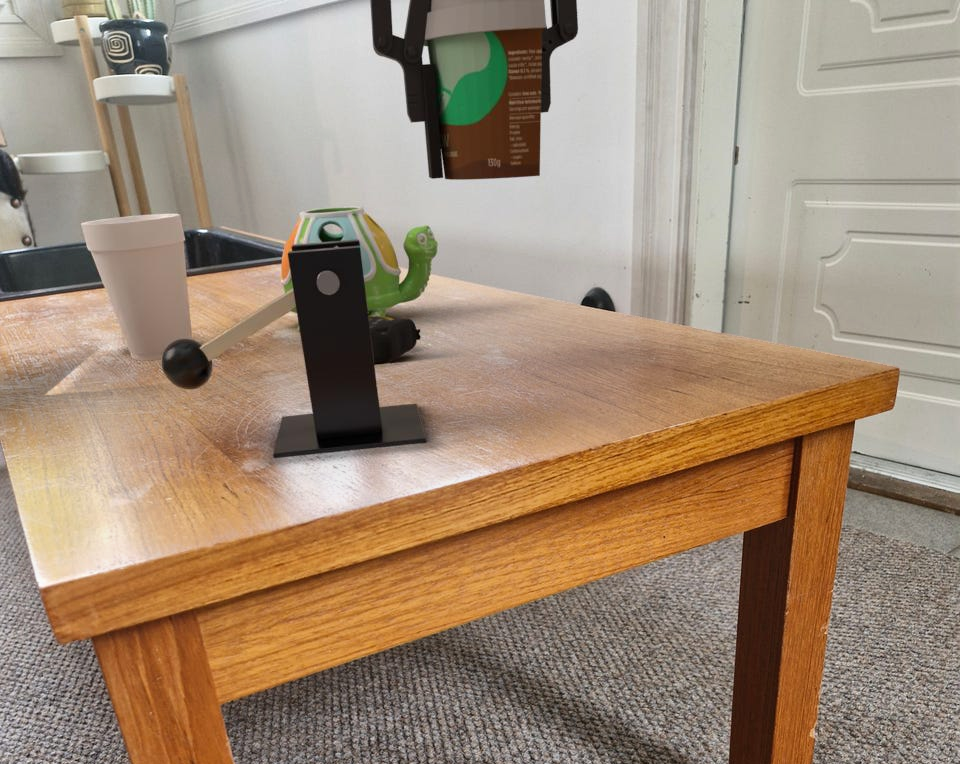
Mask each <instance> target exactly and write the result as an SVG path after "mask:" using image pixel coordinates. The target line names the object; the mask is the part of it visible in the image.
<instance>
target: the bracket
mask: <svg viewBox="0 0 960 764" xmlns="http://www.w3.org/2000/svg"><path fill="white" fill-rule="evenodd" d="M336 246H338V247H337V248H334V247H336ZM291 248H292V251H289V252H288V260H289V266H290V272H291V279H292V285H293V291H294V298H295V304H296V310H297V313H296V316H297V323H298V326H299V329H300V332H299V335H300V342H301V347H302V354H303V355H302V356H303V360H304V367H305V373H306V380H307V385H308V386H307V387H308V392H309V398H310V405H311V411H312V413H305V414H304V413H303V414H294V415H284V416H281V419H280V424H279V427H278V432H277V437H276V441H275V445H274V449H273V452H272V458H273V459H280V458H288V457H289V458H290V457H299V456H308V455H309V456H311V455H318V454H328V453H338V452H348V451H349V452H350V451H360V450H368V449H379V448H388V447H389V448H390V447H397V446H407V445H418V444H426V443H427V436H426V433H425V429H424V425H423V423H422V422H423V421H422V418H421V413H420V409H419V406H418V404H417V403H408V404H395V405H387V406H380V399H379V391H378V383H377V373H376V366H375V363H374V357H373V349H372V341H371V332H370V324H369V316H368V314H369V312H368V307H367V299H366V291H365V282H364V274H363V266H362V257H361V249H360V241H359V240H358V239H357V240H344V241H332V242H320V243H308V244H296V245H292V247H291Z"/></svg>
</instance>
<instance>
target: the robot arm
mask: <svg viewBox="0 0 960 764" xmlns="http://www.w3.org/2000/svg"><path fill="white" fill-rule="evenodd" d="M549 2H550V4H549V5H550V6H549V8H550V21H551V26H549V27H548V26H547V25H546V28H542V71H541V114H543V113H549V111H550V107H551V103H552V96H551V91H552V90H551V57H552V54H553V52H554V51H555V50H556V49H558V48H559V47H561V46H563V45H565V44H568V43H569V42H571V41H573V40H575V38H576V37H577V35H578V33H579V22H578V21H579V20H578V19H579V18H578V5H577V4H578V1H577V0H549ZM369 3H370V20H371V35H372V48H373V51H374V53H375V54H376V55H377V56H379V57H383V58H386V59H389V60H392V61H394V62H396V63H398V64H399V66H400V67H401V70H402V73H403V82H404V93H405V95H404V96H405V105H406V114H407V117H408V120H409V122H410V123H424V135H425V144H426V145H425V146H426V157H427V169H428V177H429V179H435V180H436V179H443V178H444V167H443V159H442V152H441V142H440V129H439V116H438V103H437V90H436V77H435V64H430V63H425V64H424V63H423V53H424V47H425V46H424V41H425V32H426V23H427V14H428V12H429V11H430V5H431V0H409V3H408V10H407V16H406V23H405V29H404V34H403V35H404V36H403V37H400V36H398V35H396V34H395V35H394V33H393V16H392V12H393V11H392V0H369Z"/></svg>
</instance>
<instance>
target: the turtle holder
mask: <svg viewBox="0 0 960 764" xmlns="http://www.w3.org/2000/svg"><path fill="white" fill-rule="evenodd" d="M327 225H328V226H329V225H333V226H337V227H338V228H339V229H340V230H341V231H342V232H339V233H330V232H328V230H326V229H325V227H326V226H327ZM357 239H358V240H359V241H360V249H361V257H362V266H363V274H364V282H365V291H366V299H367V307H368V316H369V317H372V316H383V317H386V310H387V309H389V308H392V307H395V306H398V305H400V304H402V303H407V302H408V303H409V302H412V301H415V300H416V299H418V298H419V297H420V296H421V295H422V293H424V292H425V290H426V288H427V286H428V284H429V283H428V282H429V281H430V276H431V273H432V272H431V271H432V262H433V261H432V260H434V258H435V257H436V256H437V253H438V241H437V240H436V239H435V236H434V232H433V230H432V229H431V227H430V226H429V225H422V226H416V227H413V228H411V229H410V230H409V231H408V232H407V233H406V236H405V239H404V242H403V250H404V252H405V254H406V256H407V259H408V269H407V273H406V276H405V277H404V279H403V280H402V281H401V282H400V276H401V274H402V270H401V268H400V266H399V261H398V258H397V255H396V254H397V253H396V251H395V248H394V247H393V244H392V242H391V240H390V238H389V237H388V234H387V233H386V231H385V230H384V229H383V228H382V227H381V226H380V225H379V224H378V222H376V221H375V220H374V219H373V218H372V217H371V216H370V215H369V214H367V213H366V212H365V209H364V206H359V205H353V206H352V205H349V206H332V207H331V206H330V207H320V208H312V209H307V210H303V211H301V212H300V213H299V220H298V221H297V222H296V225H295V227H294V229H293V230H292V231H291V234H290V235H289V237H288V239H287V240H286V242H285V243H284V247H283V251H282V255H281V256H282V257H281V279H280V284H281V285H282V286H283V290H284V293H286V292H287V291H289V290H291V289H292V288H293V285H292V279H291V272H290V266H289V260H288V252H289V251H292V248H291V247H292V245H296V244H308V243H320V242H332V241H344V240H357ZM290 312H291V313H294V314H297V310H296V308H295V309H293V310H291V311H290ZM297 332H299V333H300V329H299V325H298V326H297Z"/></svg>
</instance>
